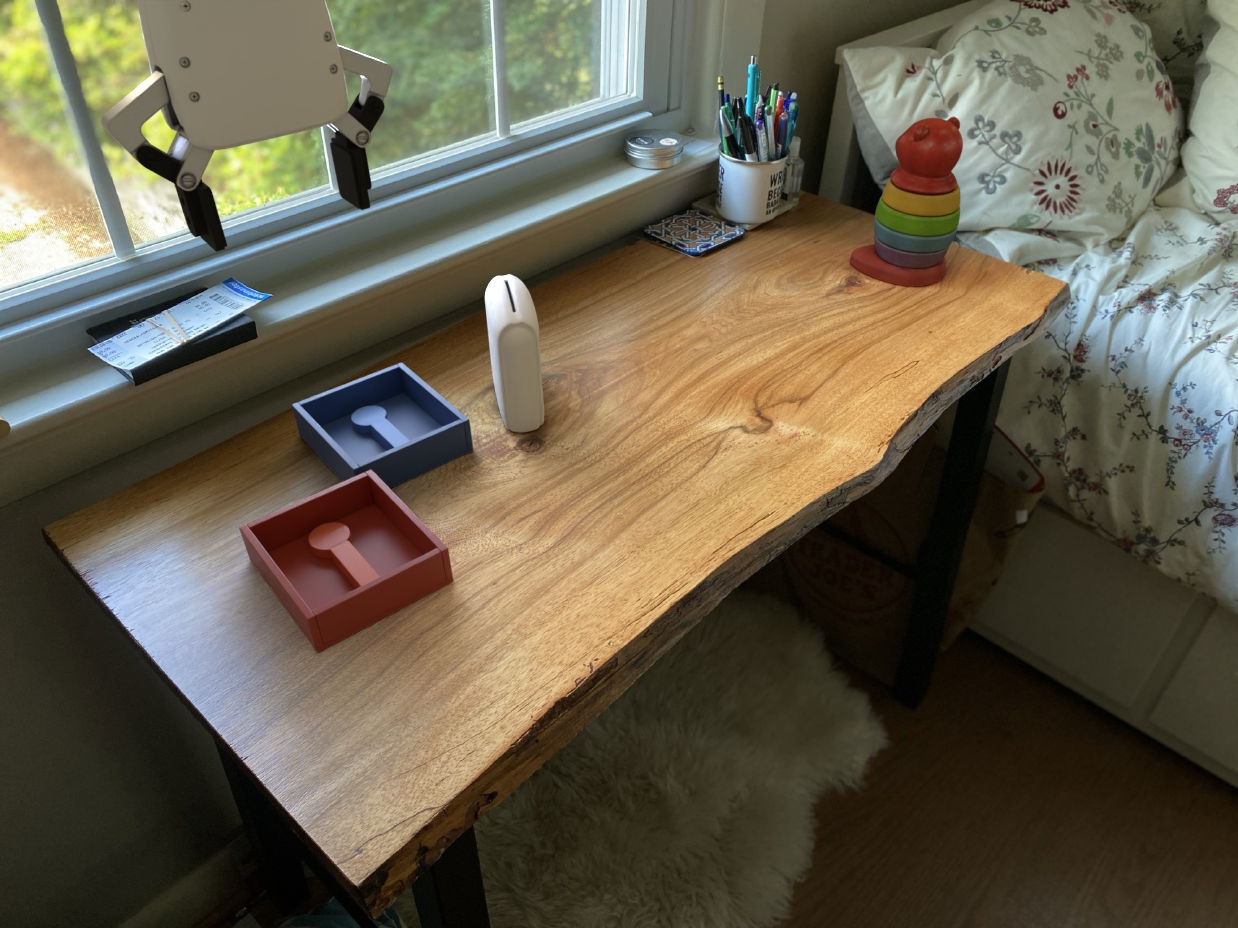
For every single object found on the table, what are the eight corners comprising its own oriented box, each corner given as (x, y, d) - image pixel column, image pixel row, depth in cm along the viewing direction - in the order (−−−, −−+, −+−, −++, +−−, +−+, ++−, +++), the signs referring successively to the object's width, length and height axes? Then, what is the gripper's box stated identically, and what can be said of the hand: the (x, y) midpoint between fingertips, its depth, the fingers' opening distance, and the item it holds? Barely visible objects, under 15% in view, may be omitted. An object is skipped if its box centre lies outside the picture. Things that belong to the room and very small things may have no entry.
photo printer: (490, 377, 94) (478, 265, 86) (532, 372, 94) (525, 260, 87) (502, 437, 86) (491, 319, 78) (549, 431, 87) (542, 314, 79)
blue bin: (360, 502, 79) (353, 469, 77) (299, 435, 86) (291, 404, 84) (473, 450, 84) (469, 419, 82) (406, 392, 92) (401, 362, 90)
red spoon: (395, 587, 70) (392, 574, 69) (356, 607, 69) (353, 594, 68) (341, 525, 76) (337, 512, 75) (304, 542, 74) (300, 530, 73)
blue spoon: (426, 455, 83) (424, 442, 82) (394, 469, 81) (391, 456, 81) (377, 410, 88) (375, 397, 88) (346, 422, 87) (344, 410, 86)
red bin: (317, 653, 66) (307, 620, 64) (249, 560, 73) (238, 527, 71) (453, 581, 71) (448, 548, 69) (378, 501, 79) (371, 468, 77)
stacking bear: (912, 243, 118) (942, 98, 106) (968, 277, 110) (1006, 125, 99) (841, 260, 114) (865, 112, 103) (894, 296, 107) (926, 141, 96)
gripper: (334, -104, 56) (380, 173, 67) (21, -72, 48) (131, 240, 58) (394, -89, 52) (433, 206, 62) (60, -51, 43) (172, 283, 54)
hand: (287, 222), depth 60 cm, fingers open, 9 cm apart
